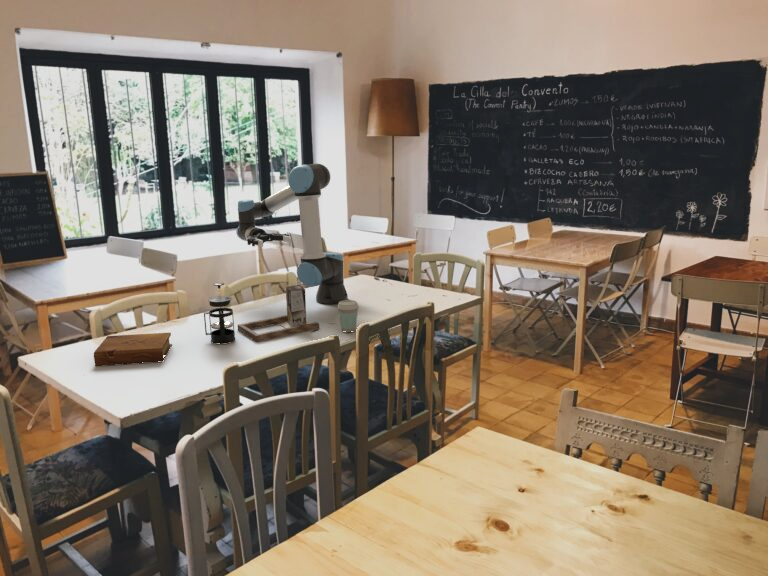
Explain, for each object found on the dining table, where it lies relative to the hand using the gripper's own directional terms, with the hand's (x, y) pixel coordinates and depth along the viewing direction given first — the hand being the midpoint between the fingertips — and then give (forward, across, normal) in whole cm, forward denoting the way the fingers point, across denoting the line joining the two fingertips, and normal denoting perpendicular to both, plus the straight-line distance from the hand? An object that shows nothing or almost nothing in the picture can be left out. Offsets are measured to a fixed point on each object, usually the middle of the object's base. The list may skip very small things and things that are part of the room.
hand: (276, 242), depth 278 cm
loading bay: (+23, +12, -32) cm, 41 cm away
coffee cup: (+42, -10, -32) cm, 54 cm away
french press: (+22, +36, -32) cm, 53 cm away
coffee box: (+22, +3, -32) cm, 39 cm away
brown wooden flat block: (+19, +68, -33) cm, 78 cm away
